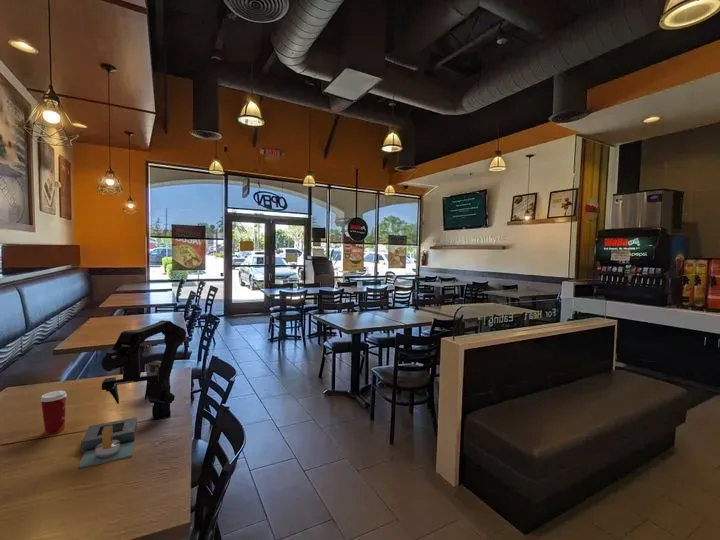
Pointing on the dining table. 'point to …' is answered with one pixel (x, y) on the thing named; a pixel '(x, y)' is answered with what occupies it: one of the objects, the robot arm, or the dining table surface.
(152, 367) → the coffee box
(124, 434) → the housing
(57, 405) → the coffee cup
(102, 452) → the grey round brown-barred piece
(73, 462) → the dining table surface
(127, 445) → the mat
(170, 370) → the robot arm
